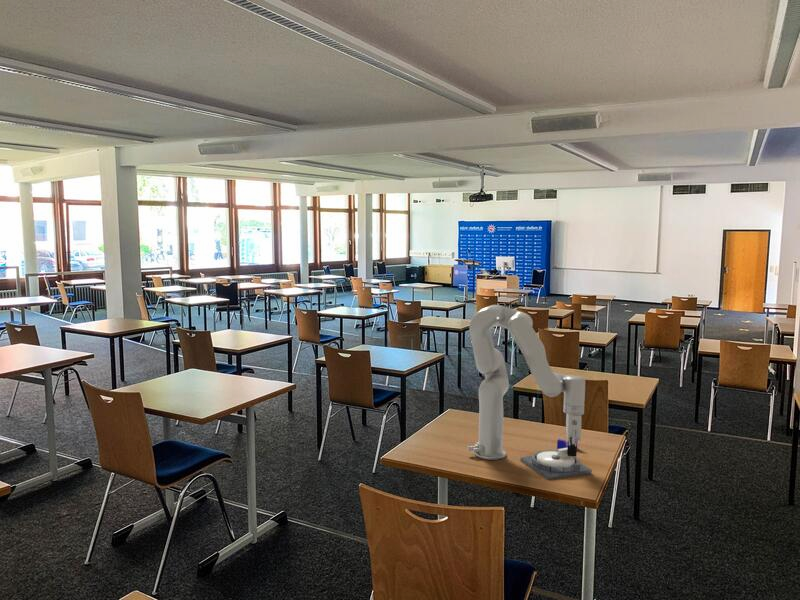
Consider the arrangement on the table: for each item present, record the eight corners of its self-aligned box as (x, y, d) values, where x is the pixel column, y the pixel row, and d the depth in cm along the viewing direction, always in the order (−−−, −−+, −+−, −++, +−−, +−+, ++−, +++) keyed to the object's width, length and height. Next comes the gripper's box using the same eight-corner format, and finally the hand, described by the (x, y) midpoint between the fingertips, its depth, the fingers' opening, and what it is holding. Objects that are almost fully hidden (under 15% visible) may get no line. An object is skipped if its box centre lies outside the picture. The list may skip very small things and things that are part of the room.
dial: (552, 471, 214) (553, 459, 214) (529, 458, 227) (529, 446, 226) (582, 466, 220) (583, 453, 219) (558, 453, 233) (558, 442, 232)
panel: (547, 479, 211) (547, 470, 211) (520, 460, 229) (520, 452, 229) (591, 473, 218) (592, 464, 217) (562, 455, 235) (562, 447, 235)
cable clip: (567, 457, 235) (567, 442, 234) (556, 454, 238) (557, 439, 237) (580, 449, 244) (581, 435, 243) (570, 446, 247) (571, 433, 246)
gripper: (586, 414, 213) (583, 463, 215) (582, 404, 227) (580, 449, 229) (564, 413, 214) (562, 461, 216) (562, 402, 229) (560, 448, 231)
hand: (571, 455), depth 223 cm, fingers closed
